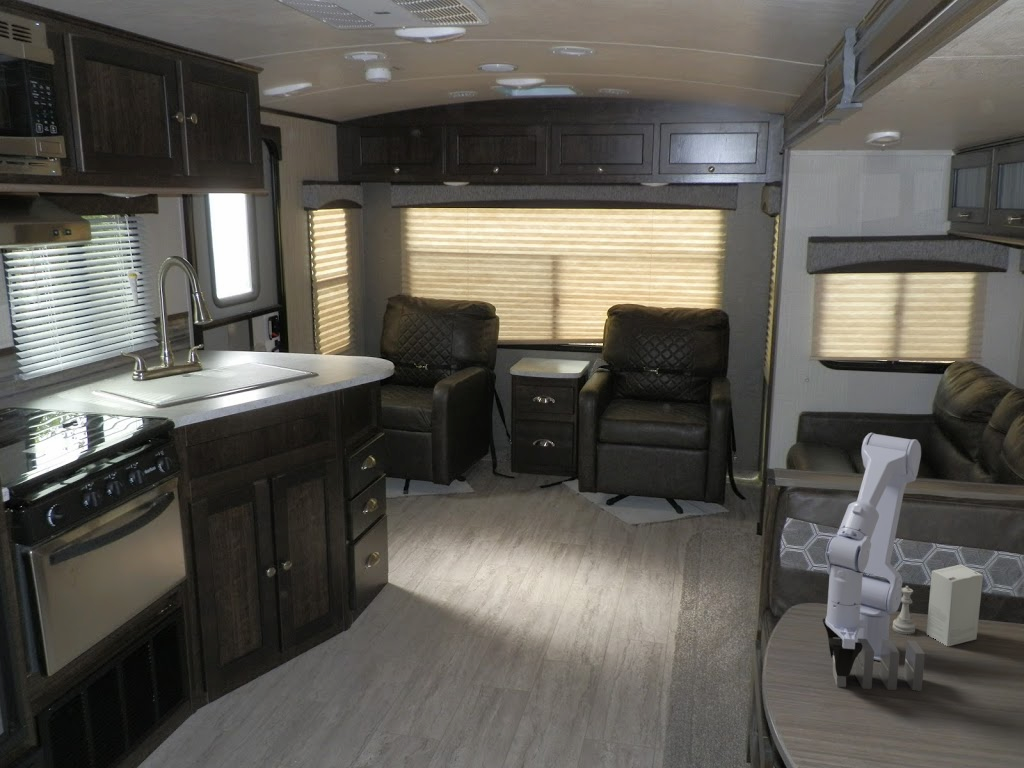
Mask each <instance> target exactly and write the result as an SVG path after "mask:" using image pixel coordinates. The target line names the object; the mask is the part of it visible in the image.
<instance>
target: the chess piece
mask: <svg viewBox="0 0 1024 768" xmlns="http://www.w3.org/2000/svg"><path fill="white" fill-rule="evenodd" d="M913 593H914V590H913V589H912V588H910V587H909V585H905V587H902V597H901V602H900V603H902V605H901V609H900V610H901V611H900V613H899V614H898V615H897V618H895V619H894V620H893V621H892V630H893V631H894V632H896V633H898V634H901V635H907V634H908V635H913V634H914V633H915V632H916V624H915V622H914V621H913V617H912V616H911V615H910V614H911V613H910V605H911V604H912V603H913V599H911V595H912V594H913Z"/></svg>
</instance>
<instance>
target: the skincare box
mask: <svg viewBox="0 0 1024 768" xmlns="http://www.w3.org/2000/svg"><path fill="white" fill-rule="evenodd" d="M983 579H984V575H983V574H982V573H980V572H978V571H976V570H974V569H972V568H969V567H968V566H965V565H963V564H957V565H952V566H947V567H943V568H939V569H934V570H931V577H930V589H929V599H928V601H929V602H928V611H927V621H926V633H925V634H926V635H927V636H928V635H929V637H930V638H931V639H933V638H934V640H935V639H936V640H935V641H937V642H938V641H939V643H940V642H941V643H940V644H942V643H943V644H944V646H945V645H946V646H945V647H947V646H948V647H951V646H952V647H953V646H955V645H959V644H963V643H967V642H971V641H974V640H977V636H978V628H979V617H980V609H981V608H980V606H981V599H982V590H983V589H982V588H983ZM943 644H942V645H943Z"/></svg>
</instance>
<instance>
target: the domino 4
mask: <svg viewBox="0 0 1024 768" xmlns="http://www.w3.org/2000/svg"><path fill="white" fill-rule="evenodd" d="M925 656H926V653H925V652H924V650H923V649H922V648H921V646H920V645H919V643H917V641H916V640H906V644H905V658H904V668H903V669H904V670H903V678H904V679H906V680H905V681H906V683H907V685H908V686H909V688H910V689H911V691H912V690H914V691H913V692H916V691H917V692H922V691H923V679H924V668H925ZM915 690H916V691H915Z"/></svg>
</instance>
